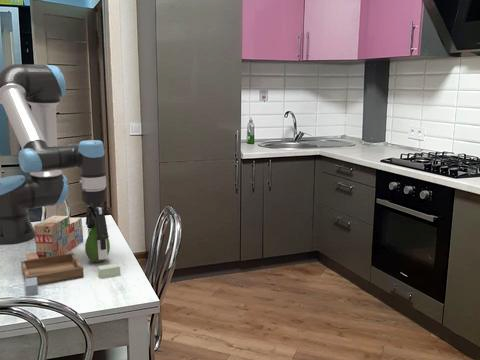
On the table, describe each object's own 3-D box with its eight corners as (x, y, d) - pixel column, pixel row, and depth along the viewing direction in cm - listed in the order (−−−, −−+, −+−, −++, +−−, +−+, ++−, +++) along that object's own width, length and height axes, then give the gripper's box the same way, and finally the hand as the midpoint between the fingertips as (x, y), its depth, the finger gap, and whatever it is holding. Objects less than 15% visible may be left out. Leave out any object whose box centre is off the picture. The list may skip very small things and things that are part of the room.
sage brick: (100, 279, 147) (99, 269, 147) (98, 275, 150) (98, 266, 149) (120, 275, 150) (120, 266, 149) (118, 272, 152) (117, 263, 152)
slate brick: (26, 288, 140) (25, 278, 140) (37, 287, 142) (36, 277, 141) (26, 296, 135) (25, 286, 134) (38, 294, 136) (37, 284, 136)
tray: (21, 270, 154) (21, 261, 154) (73, 261, 162) (72, 253, 161) (27, 287, 141) (26, 277, 140) (83, 277, 148) (83, 267, 148)
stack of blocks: (67, 241, 184) (65, 209, 182) (83, 241, 183) (81, 209, 181) (36, 260, 163) (33, 224, 161) (54, 261, 162) (51, 225, 160)
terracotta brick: (27, 262, 161) (26, 254, 161) (36, 261, 163) (36, 252, 162) (29, 268, 156) (28, 259, 156) (39, 266, 158) (38, 257, 157)
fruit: (116, 260, 163) (114, 225, 160) (96, 267, 156) (94, 230, 154) (100, 255, 167) (98, 221, 165) (80, 262, 161) (78, 227, 159)
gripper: (74, 184, 166) (78, 244, 170) (90, 197, 145) (95, 266, 149) (96, 181, 170) (100, 241, 174) (116, 194, 148) (120, 262, 152)
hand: (98, 252), depth 161 cm, fingers open, 13 cm apart
